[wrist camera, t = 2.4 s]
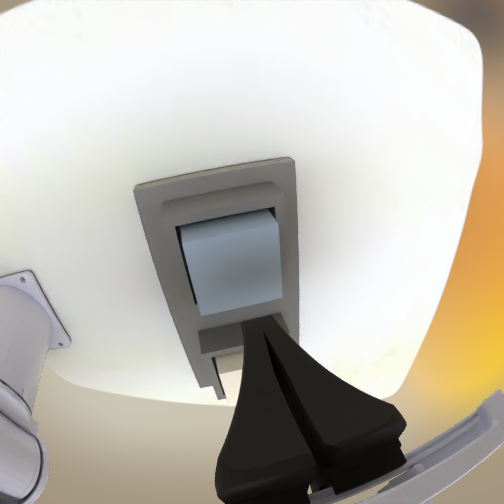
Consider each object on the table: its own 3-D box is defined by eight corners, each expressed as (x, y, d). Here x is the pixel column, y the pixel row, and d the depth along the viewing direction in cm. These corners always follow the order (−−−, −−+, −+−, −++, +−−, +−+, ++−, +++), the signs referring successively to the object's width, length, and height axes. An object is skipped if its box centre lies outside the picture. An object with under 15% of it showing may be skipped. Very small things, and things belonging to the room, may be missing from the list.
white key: (225, 388, 25) (229, 406, 24) (214, 354, 23) (218, 374, 21) (279, 375, 26) (286, 392, 24) (277, 339, 23) (285, 358, 22)
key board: (199, 380, 29) (203, 408, 26) (135, 185, 18) (127, 206, 15) (295, 357, 30) (307, 383, 27) (289, 157, 19) (310, 172, 17)
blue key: (198, 295, 20) (201, 316, 18) (180, 226, 17) (182, 243, 15) (273, 278, 20) (282, 297, 19) (267, 208, 18) (278, 223, 16)
